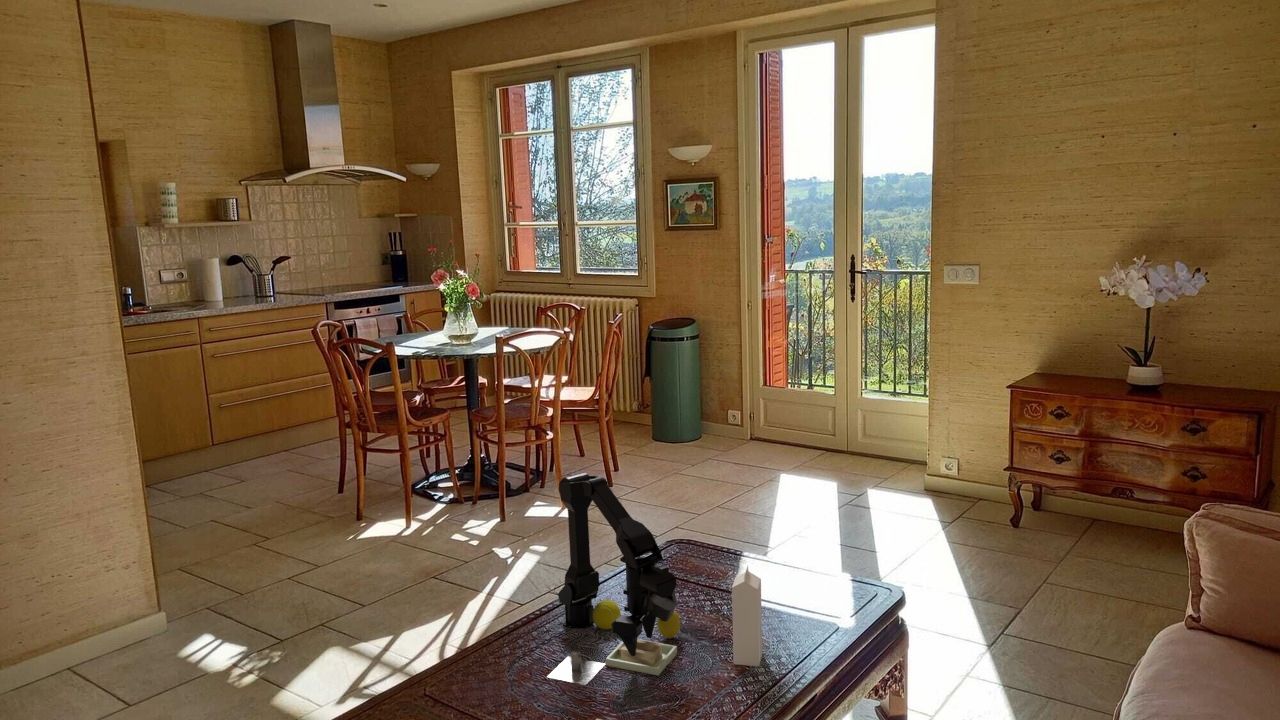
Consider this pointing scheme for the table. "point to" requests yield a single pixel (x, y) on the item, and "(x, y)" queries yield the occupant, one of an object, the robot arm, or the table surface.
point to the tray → (666, 658)
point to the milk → (747, 619)
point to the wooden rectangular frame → (642, 653)
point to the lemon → (669, 626)
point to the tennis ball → (605, 614)
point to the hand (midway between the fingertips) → (641, 646)
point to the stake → (576, 669)
